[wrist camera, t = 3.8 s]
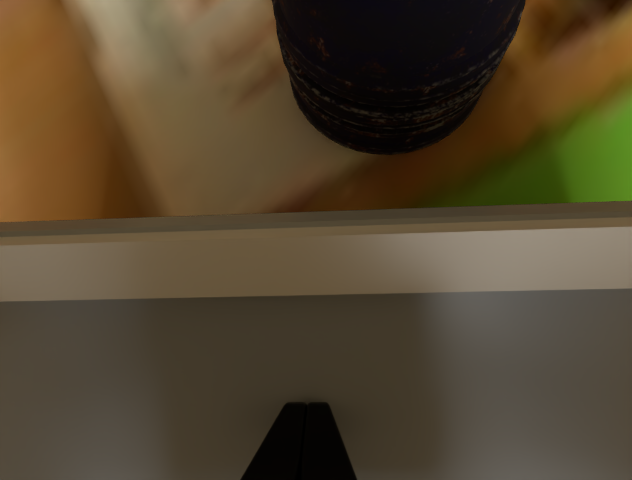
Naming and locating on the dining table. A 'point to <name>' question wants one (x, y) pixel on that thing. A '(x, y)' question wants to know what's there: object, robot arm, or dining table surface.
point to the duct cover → (320, 341)
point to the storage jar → (392, 65)
